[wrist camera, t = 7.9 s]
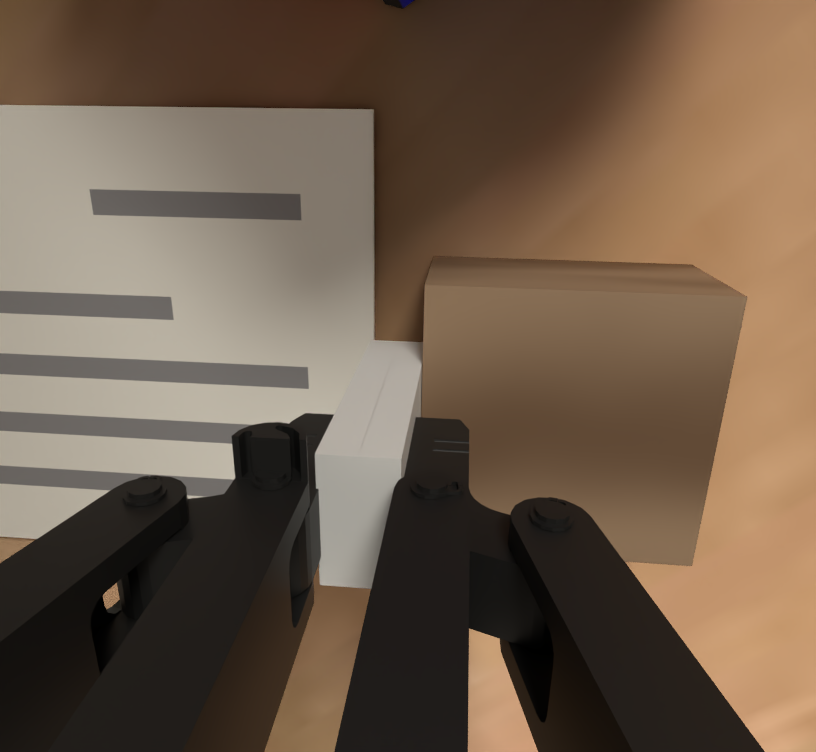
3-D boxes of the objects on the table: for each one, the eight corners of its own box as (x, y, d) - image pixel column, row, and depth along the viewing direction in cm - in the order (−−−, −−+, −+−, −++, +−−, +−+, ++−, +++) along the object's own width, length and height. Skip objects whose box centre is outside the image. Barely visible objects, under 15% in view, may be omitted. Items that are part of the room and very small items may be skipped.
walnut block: (434, 254, 18) (424, 284, 14) (688, 263, 18) (747, 296, 14) (427, 473, 21) (417, 546, 17) (650, 486, 20) (691, 566, 16)
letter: (-256, 102, 18) (-264, 101, 18) (374, 109, 17) (373, 109, 17) (-121, 524, 23) (-125, 527, 23) (375, 559, 22) (375, 562, 21)
